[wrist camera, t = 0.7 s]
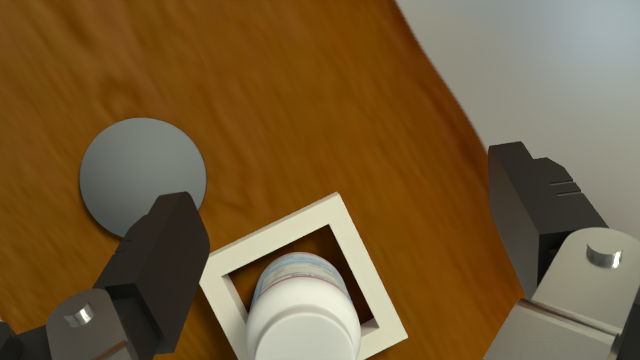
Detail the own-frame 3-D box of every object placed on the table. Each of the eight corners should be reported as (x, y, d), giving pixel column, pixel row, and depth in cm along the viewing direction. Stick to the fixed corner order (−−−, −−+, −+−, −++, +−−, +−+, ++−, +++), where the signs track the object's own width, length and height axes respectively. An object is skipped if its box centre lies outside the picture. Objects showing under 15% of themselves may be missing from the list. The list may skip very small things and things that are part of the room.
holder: (197, 259, 32) (190, 266, 30) (336, 191, 32) (339, 194, 30) (265, 394, 33) (263, 409, 31) (401, 326, 33) (408, 337, 31)
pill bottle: (317, 352, 33) (331, 454, 22) (239, 310, 32) (211, 392, 21) (361, 276, 33) (396, 338, 21) (283, 233, 32) (278, 273, 21)
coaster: (62, 151, 31) (57, 150, 30) (173, 98, 31) (171, 96, 31) (118, 259, 32) (115, 261, 31) (227, 206, 32) (226, 207, 31)
